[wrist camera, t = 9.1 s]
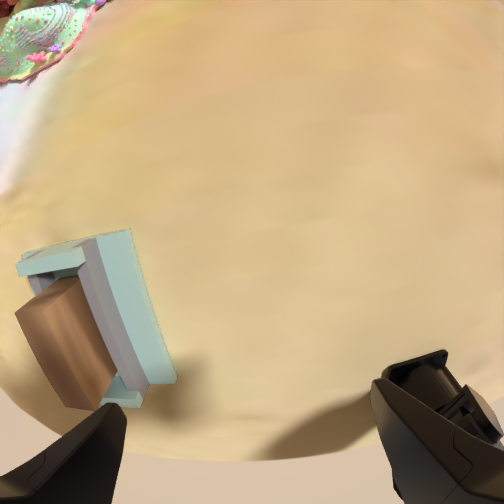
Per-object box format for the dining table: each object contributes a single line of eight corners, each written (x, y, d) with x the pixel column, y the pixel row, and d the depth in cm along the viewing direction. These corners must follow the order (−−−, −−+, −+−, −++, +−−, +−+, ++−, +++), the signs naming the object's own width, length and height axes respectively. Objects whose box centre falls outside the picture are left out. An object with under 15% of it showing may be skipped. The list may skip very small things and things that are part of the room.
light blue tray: (130, 228, 19) (104, 244, 15) (177, 376, 23) (167, 409, 19) (27, 251, 20) (-2, 268, 16) (79, 374, 24) (62, 400, 20)
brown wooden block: (88, 273, 19) (42, 311, 13) (123, 361, 22) (95, 411, 16) (60, 277, 19) (14, 312, 14) (95, 361, 22) (65, 406, 16)
